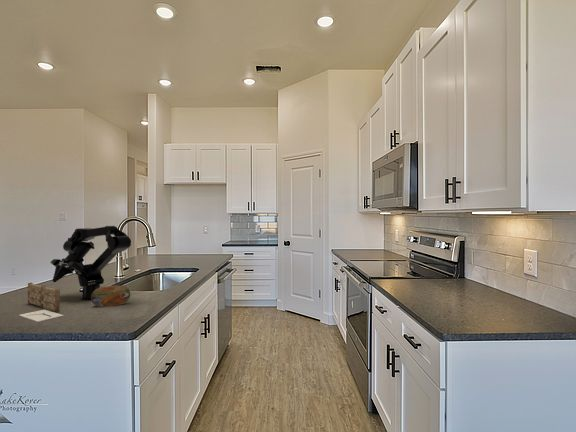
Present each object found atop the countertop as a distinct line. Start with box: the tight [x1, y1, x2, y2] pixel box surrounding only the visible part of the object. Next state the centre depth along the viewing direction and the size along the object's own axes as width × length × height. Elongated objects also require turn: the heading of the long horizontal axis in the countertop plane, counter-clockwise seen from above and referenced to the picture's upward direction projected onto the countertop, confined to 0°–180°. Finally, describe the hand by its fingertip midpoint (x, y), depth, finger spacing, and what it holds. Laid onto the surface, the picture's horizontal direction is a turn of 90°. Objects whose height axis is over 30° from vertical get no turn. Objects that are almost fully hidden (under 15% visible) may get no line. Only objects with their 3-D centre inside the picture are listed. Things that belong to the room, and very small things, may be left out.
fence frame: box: [40, 284, 61, 313], centre depth 141 cm, size 12×2×9 cm, turn 60°
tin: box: [91, 284, 131, 308], centre depth 150 cm, size 15×3×8 cm, turn 117°
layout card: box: [18, 309, 64, 323], centre depth 133 cm, size 14×9×1 cm, turn 60°
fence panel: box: [27, 282, 42, 307], centre depth 147 cm, size 11×2×8 cm, turn 60°
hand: (53, 281), depth 153 cm, fingers closed
